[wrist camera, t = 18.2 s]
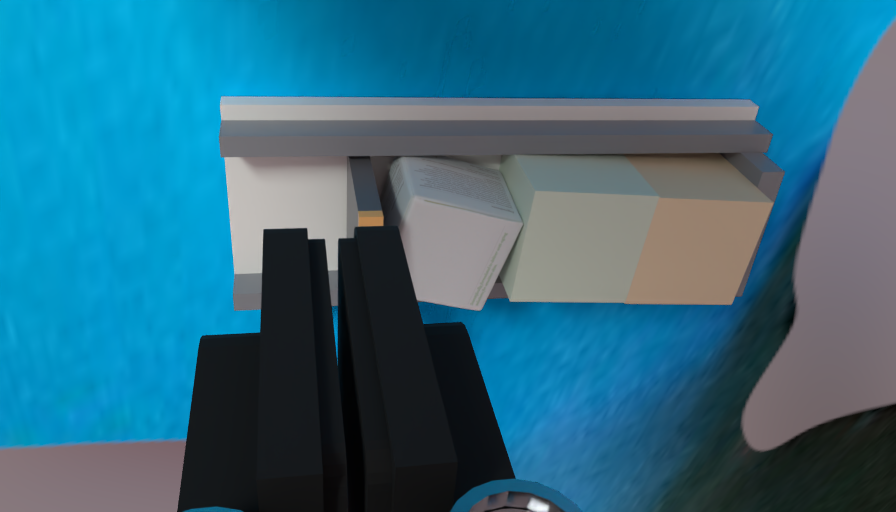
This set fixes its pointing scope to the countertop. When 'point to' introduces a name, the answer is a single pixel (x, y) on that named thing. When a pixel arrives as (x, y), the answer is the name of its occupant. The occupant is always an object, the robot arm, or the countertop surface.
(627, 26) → the countertop surface
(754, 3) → the countertop surface
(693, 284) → the kraft box
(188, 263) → the countertop surface
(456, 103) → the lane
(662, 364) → the countertop surface
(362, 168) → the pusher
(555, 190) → the sage box
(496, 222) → the small box
